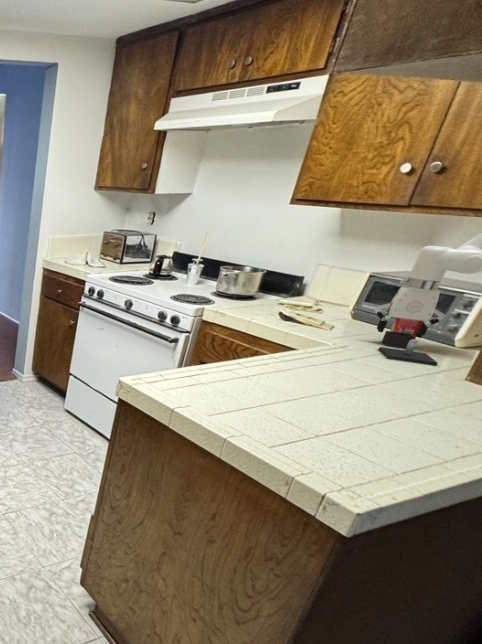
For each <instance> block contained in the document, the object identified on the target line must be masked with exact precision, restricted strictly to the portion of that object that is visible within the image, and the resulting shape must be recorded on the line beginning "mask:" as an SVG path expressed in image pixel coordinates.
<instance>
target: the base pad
mask: <svg viewBox="0 0 482 644" xmlns="http://www.w3.org/2000/svg"><path fill="white" fill-rule="evenodd" d="M417 345H418V340H417V339H415V340H414V339H412V340H410V341H409V343H408V345H407V347H406V348H404V349H400V348H392V347H383V346H379V347H378V351H379V352H380V353H381V354H383V356H384V357H385V358H386V359H388V360H395V361H402V362H408V363H415V364H422V365H429V366H437V365H438V362H437V361H436V360H435V359H434V358H432V357H431V356H430V355H428V353H426V352H419V351H414V350H415V349H416V346H417Z"/></svg>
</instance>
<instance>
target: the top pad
mask: <svg viewBox="0 0 482 644" xmlns="http://www.w3.org/2000/svg"><path fill="white" fill-rule="evenodd" d="M412 339H414V340H416V339H415V337H413V336H412V335H411V334H408V333H399V332H391V331H390V330H386V331H385V333H384V335H383V338H382V339H381V342H382V343H383V344H384V345H385V346H386V347H390V348H397V349H406V347H407V345H408V343H409V341H410V340H412Z"/></svg>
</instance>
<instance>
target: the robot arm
mask: <svg viewBox="0 0 482 644" xmlns="http://www.w3.org/2000/svg"><path fill="white" fill-rule="evenodd" d="M447 271H449V272H455V273H459V274H467V275H471V274H477V273H481V272H482V232H481V233H479V234H477V235H476V236H474V237H473V238H470V239H469V240H468V241H466V242H465V243H463V244H462V245H460V246H459V247H457V248H453V247H450V246H443V245H441V246H440V245H426V246H424V247H422V248H421V249H420V251H419V253H418V255H417V258H416V260H415V262H414V264H413V266H412V268H411V270H410V273H409V275H408V277H406V278H405V279H404V278H402V279H400V282H399V284H403V285H404V286H401V287H400V288H399V289H398V290H397V292H396V293H395V295H394V297H393V298H392V299H391V302H388V303H383V304H378V305H375V306H374V311H375V315H376V316H377V318H379V322H378V323H377V326H376V329H377V331H378V332H379V333H383V332H384V330H385V328H386V326H387V324H388V321H387V320H389V319H392V318H396V317H397V318H404V319H412V320H420V321H422V322H423V324H421V325H420V326H419V329H418V331H417V333H416V336H417V337H416V338H418V339H421V338H422V337H423V336H425V335H426V333H427V331H428V329H429V328H430V327H432V326H434V325H436V324H438V323H439V322H440V321H442V320H443V319H445V318H446V317H447V314H446V313H444V312H441V311H440V310H438V309H436V307H437V304H438V301H439V298H440V294H441V291H440V290H438V288H439V287H440V284H441V282H442V280H443V278H444V276H445V273H446V272H447ZM383 309H387V310H386V313H384V314H383V313H382V310H383ZM434 314H435V315H436V317H434V318H432V317H433V315H434ZM431 318H432V319H431Z"/></svg>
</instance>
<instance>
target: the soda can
mask: <svg viewBox="0 0 482 644" xmlns="http://www.w3.org/2000/svg"><path fill="white" fill-rule="evenodd" d="M421 324H423V322H422V321H420V320H412V319H404V318H397V317H395V318H394V321H393V323H392V325H391V328H390V330H389V331H391V332H399V333H408V334H411V335H412V336H413V337H415V340H417V338H418V337H417V336H416V333H417V331H418V329H419V326H420V325H421Z"/></svg>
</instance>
